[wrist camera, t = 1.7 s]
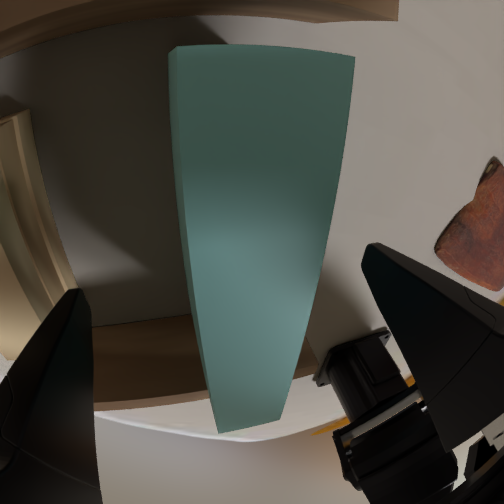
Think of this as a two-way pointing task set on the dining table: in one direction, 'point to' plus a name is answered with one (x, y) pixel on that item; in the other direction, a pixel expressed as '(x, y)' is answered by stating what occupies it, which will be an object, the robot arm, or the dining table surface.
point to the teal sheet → (254, 208)
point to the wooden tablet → (478, 234)
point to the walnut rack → (182, 327)
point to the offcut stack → (26, 239)
